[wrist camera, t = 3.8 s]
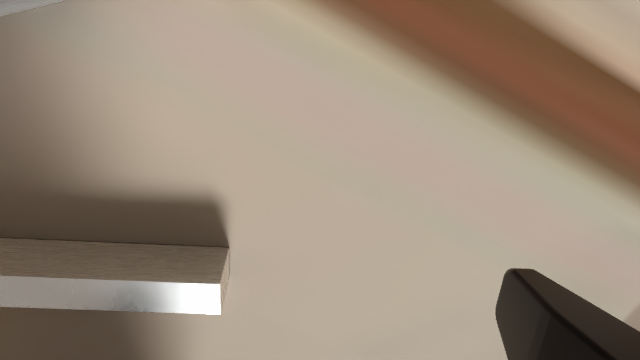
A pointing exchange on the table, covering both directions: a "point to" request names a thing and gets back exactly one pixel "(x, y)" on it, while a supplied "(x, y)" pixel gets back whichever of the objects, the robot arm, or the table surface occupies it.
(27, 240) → the guide channel
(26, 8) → the bracket
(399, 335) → the table surface
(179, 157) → the table surface
